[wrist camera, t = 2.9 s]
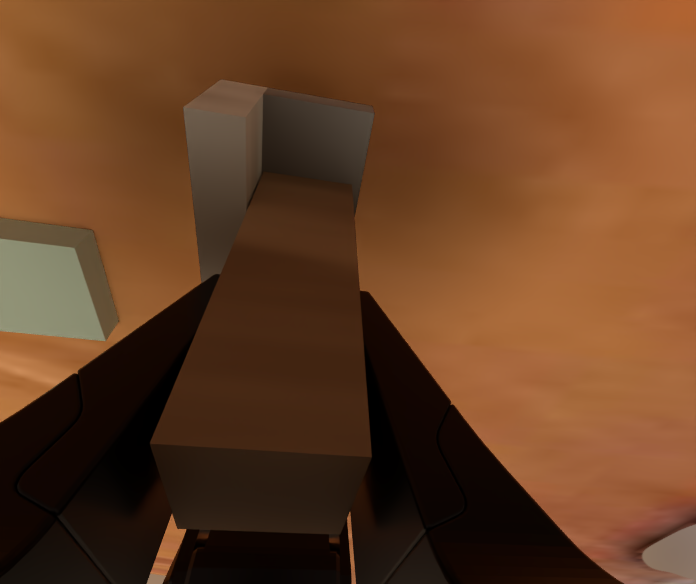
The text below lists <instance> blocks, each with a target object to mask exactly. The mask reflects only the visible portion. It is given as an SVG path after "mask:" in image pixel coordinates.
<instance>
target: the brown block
mask: <svg viewBox="0 0 696 584" xmlns="http://www.w3.org/2000/svg"><path fill="white" fill-rule="evenodd" d="M183 110H184V120H185V129H186V139H187V148H188V158H189V168H190V177H191V187H192V196H193V206H194V215H195V225H196V235H197V244H198V254H199V263H200V273H201V282H204V281H205V280H207V279H208V278H209V277H211V276H212V275H214V274H220V277H219V279H218V281H217V284H216V286H215V289H214V291H213V293H212V296H211V298H210V300H209V303H208V305H207V308H206V310H205V312H204V315H203V317H202V320H201V322H200V324H199V327H198V329H197V332H196V334H195V336H194V339H193V341H192V343H191V346H190V348H189V351H188V353H187V355H186V358H185V360H184V363H183V365H182V367H181V370H180V372H179V375H178V377H177V379H176V382H175V384H174V387H173V389H172V391H171V394H170V396H169V398H168V401H167V403H166V406H165V408H164V410H163V413H162V415H161V418H160V420H159V422H158V425H157V427H156V430H155V432H154V434H153V437H152V439H151V442H150V446H151V449H152V452H153V455H154V458H155V461H156V464H157V468H158V471H159V474H160V477H161V480H162V483H163V486H164V489H165V492H166V495H167V498H168V501H169V504H170V507H171V510H172V514H173V517H174V520H175V523H176V526H177V529H201V530H228V531H256V532H283V533H311V534H338V535H340V534H341V531H342V529H343V527H344V524H345V522H346V519H347V517H348V514H349V512H350V509H351V507H352V505H353V502H354V500H355V497H356V495H357V492H358V490H359V487H360V485H361V482H362V480H363V478H364V475H365V473H366V470H367V468H368V465H369V463H370V460H371V458H372V453H371V439H370V426H369V412H368V398H367V384H366V371H365V357H364V343H363V329H362V316H361V302H360V288H359V274H358V261H357V247H356V233H355V219H354V217H355V212H356V207H357V202H358V197H359V191H360V186H361V181H362V176H363V171H364V166H365V160H366V155H367V150H368V145H369V140H370V135H371V129H372V124H373V119H374V114H375V113H374V110H373V107H372V106H370V105H364V104H358V103H353V102H347V101H341V100H336V99H330V98H324V97H319V96H313V95H307V94H301V93H296V92H290V91H284V90H279V89H273V88H267V87H262V86H256V85H250V84H245V83H239V82H233V81H228V80H222V79H221V80H219V81H218V82H217V83H215V84H214V85H213V86H211V87H210V88H208V89H207V90H206V91H204V92H203V93H202V94H200V95H199V96H198V97H196V98H195V99H193V100H192V101H191V102H189V103H188V104H187V105H185V106H184V107H183Z"/></svg>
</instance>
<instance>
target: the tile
mask: <svg viewBox="0 0 696 584" xmlns="http://www.w3.org/2000/svg"><path fill="white" fill-rule="evenodd" d="M118 322H119V320H118V316H117V313H116V309H115V306H114V302H113V299H112V295H111V292H110V288H109V285H108V281H107V278H106V274H105V271H104V268H103V264H102V261H101V257H100V254H99V250H98V247H97V243H96V240H95V236H94V233H93V230H88V229H80V228H73V227H65V226H58V225H50V224H43V223H35V222H28V221H20V220H13V219H5V218H0V331H6V332H17V333H27V334H37V335H48V336H58V337H68V338H79V339H89V340H99V341H106V340H107V338H108V337H109V335H110V334H111V332H112V331H113V329H114V328H115V326H116V325H117V323H118Z"/></svg>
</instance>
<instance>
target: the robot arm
mask: <svg viewBox="0 0 696 584" xmlns="http://www.w3.org/2000/svg"><path fill="white" fill-rule="evenodd" d="M219 277H220V274H214V275H212V276H211V277H209V278H208V279H207V280H205V281H204V282H202V283H201V284H200V285H198V286H197V287H195V288H194V289H193V290H191V291H190V292H188V293H187V294H185V295H184V296H183V297H181V298H180V299H178V300H177V301H176V302H174V303H173V304H171V305H170V306H168V307H167V308H166V309H164V310H163V311H161V312H160V313H159V314H157V315H156V316H154V317H153V318H151V319H150V320H149V321H147V322H146V323H144V324H143V325H142V326H140V327H139V328H137V329H136V330H135V331H133V332H132V333H130V334H129V335H127V336H126V337H125V338H123V339H122V340H120V341H119V342H118V343H116V344H115V345H113V346H112V347H110V348H109V349H108V350H106V351H105V352H103V353H102V354H101V355H99V356H98V357H96V358H95V359H93V360H92V361H91V362H89V363H88V364H86V365H85V366H84V367H82V368H81V369H79V370H78V374H76V373H74V374H72V375H71V376H69V377H68V378H66V379H65V380H64V381H62V382H61V383H59V384H58V385H56V386H55V387H54V388H52V389H51V390H49V391H48V392H46V393H45V394H43V395H42V396H40V397H39V398H37V399H36V400H34V401H33V402H31V403H30V404H28V405H27V406H26V407H24V408H23V409H21V410H20V411H18V412H16V413H15V414H13V415H12V416H10V417H8V418H7V419H5V420H4V421H2V422H0V584H146V583H147V580H148V578H149V575H150V572H151V570H152V567H153V564H154V561H155V559H156V556H157V553H158V550H159V547H160V545H161V542H162V539H163V536H164V534H165V531H166V528H167V525H168V523H169V520H170V517H171V514H172V510H171V507H170V504H169V501H168V498H167V495H166V492H165V489H164V486H163V483H162V480H161V477H160V474H159V471H158V468H157V464H156V461H155V458H154V455H153V452H152V449H151V446H150V442H151V439H152V437H153V434H154V432H155V430H156V427H157V425H158V422H159V420H160V418H161V415H162V413H163V410H164V408H165V406H166V403H167V401H168V398H169V396H170V394H171V391H172V389H173V387H174V384H175V382H176V379H177V377H178V375H179V372H180V370H181V367H182V365H183V363H184V360H185V358H186V355H187V353H188V351H189V348H190V346H191V343H192V341H193V339H194V336H195V334H196V332H197V329H198V327H199V324H200V322H201V320H202V317H203V315H204V312H205V310H206V308H207V305H208V303H209V300H210V298H211V296H212V293H213V291H214V289H215V286H216V284H217V281H218V279H219ZM360 302H361V316H362V329H363V343H364V357H365V371H366V384H367V398H368V412H369V426H370V439H371V453H372V458H371V460H370V463H369V465H368V468H367V470H366V473H365V475H364V478H363V480H362V482H361V485H360V487H359V490H358V492H357V495H356V497H355V500H354V502H353V505H352V507H351V509H350V513H351V525H352V538H353V550H354V563H355V575H356V584H624V583H622V582H620V581H619V580H617V579H616V578H614V577H613V576H612V575H610V574H609V573H607V572H606V571H605V570H603V569H602V568H601V567H600V566H598V565H597V564H596V563H595V562H593V561H592V560H591V559H590V558H589V557H588V556H587V555H585V554H584V553H583V552H582V551H581V550H580V549H579V548H578V547H577V546H576V545H575V544H574V543H573V542H572V541H571V540H570V539H569V538H568V537H567V536H566V535H565V534H564V532H563V531H562V530H561V529H560V528H559V527H558V526H557V525H556V524H555V523H554V521H553V520H552V519H551V518H550V517H549V516H548V515H547V514H546V513H545V511H544V510H543V509H542V508H541V507H540V506H539V505H538V504H537V503H536V502H535V500H534V499H533V498H532V497H531V496H530V495H529V494H528V493H527V492H526V490H525V489H524V488H523V487H522V486H521V485H520V484H519V483H518V482H517V481H516V479H515V478H514V477H513V476H512V475H511V474H510V473H509V472H508V471H507V469H506V468H505V467H504V466H503V465H502V464H501V463H500V461H499V460H498V459H497V458H496V457H495V456H494V454H493V453H492V452H491V451H490V450H489V449H488V448H487V446H486V445H485V444H484V443H483V442H482V440H481V439H480V438H479V437H478V435H477V434H476V433H475V432H474V430H473V429H472V428H471V427H470V425H469V424H468V423H467V422H466V420H465V419H464V418H463V416H462V415H461V414H460V412H459V411H458V410H457V408H456V407H455V406H454V405H453V404H452V405H451V401H450V399H449V398H448V397H447V395H446V394H445V393H444V391H443V390H442V389H441V387H440V386H439V385H438V383H437V382H436V381H435V379H434V378H433V377H432V375H431V374H430V373H429V371H428V370H427V369H426V367H425V366H424V365H423V363H422V362H421V361H420V359H419V358H418V357H417V355H416V354H415V353H414V351H413V350H412V349H411V348H410V346H409V345H408V344H407V342H406V341H405V340H404V338H403V337H402V336H401V334H400V333H399V332H398V330H397V329H396V328H395V326H394V325H393V324H392V322H391V321H390V320H389V318H388V317H387V316H386V314H385V313H384V312H383V310H382V309H381V308H380V306H379V305H378V304H377V302H376V301H375V300H374V298H373V297H372V296H371V294H370V293H369V292H367V291H360ZM163 584H351V563H350V551H349V539H348V527H347V519H346V522H345V524H344V527H343V529H342V531H341V534H340V535H338V534H311V533H283V532H256V531H228V530H201V529H187V530H186V533H185V536H184V538H183V540H182V543H181V545H180V547H179V549H178V551H177V554H176V556H175V558H174V560H173V562H172V564H171V566H170V569H169V571H168V573H167V575H166V577H165V579H164V582H163Z"/></svg>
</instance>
